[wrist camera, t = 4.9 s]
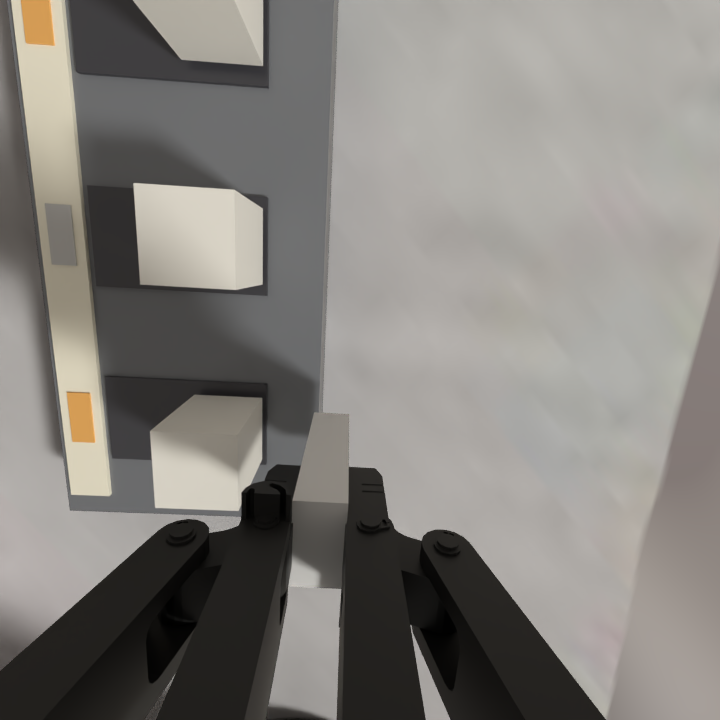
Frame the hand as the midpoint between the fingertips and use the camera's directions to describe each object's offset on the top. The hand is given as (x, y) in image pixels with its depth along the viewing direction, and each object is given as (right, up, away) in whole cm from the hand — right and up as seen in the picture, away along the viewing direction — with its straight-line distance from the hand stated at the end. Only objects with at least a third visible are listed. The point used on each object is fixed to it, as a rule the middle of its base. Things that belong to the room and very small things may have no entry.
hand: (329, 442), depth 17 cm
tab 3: (-5, 0, +1) cm, 5 cm away
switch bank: (-6, +9, +2) cm, 11 cm away
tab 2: (-4, +8, -1) cm, 9 cm away
